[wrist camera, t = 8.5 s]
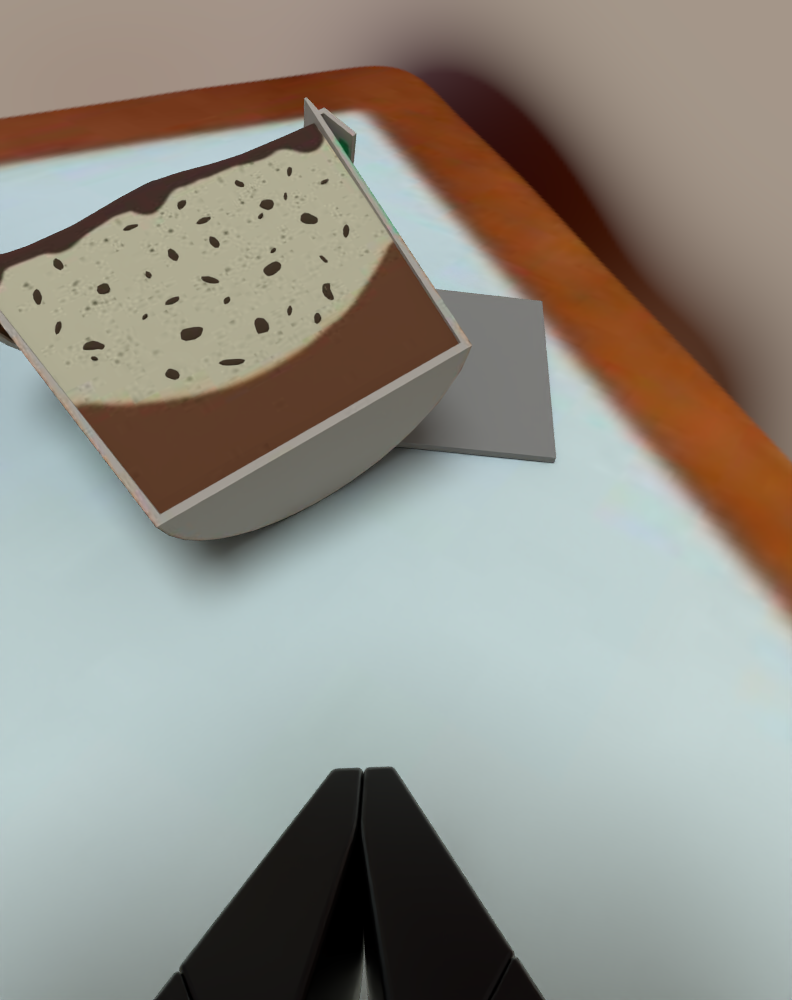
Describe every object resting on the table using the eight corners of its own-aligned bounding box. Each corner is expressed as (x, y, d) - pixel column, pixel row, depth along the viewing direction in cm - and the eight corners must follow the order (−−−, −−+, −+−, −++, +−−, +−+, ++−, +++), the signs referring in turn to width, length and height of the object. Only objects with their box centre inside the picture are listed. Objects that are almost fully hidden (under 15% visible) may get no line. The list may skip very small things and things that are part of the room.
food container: (470, 419, 22) (327, 236, 24) (514, 320, 16) (320, 90, 18) (172, 603, 19) (40, 374, 21) (96, 562, 13) (-76, 253, 15)
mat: (553, 462, 21) (556, 457, 21) (215, 427, 20) (213, 422, 20) (539, 306, 25) (542, 301, 25) (257, 274, 24) (256, 268, 24)
